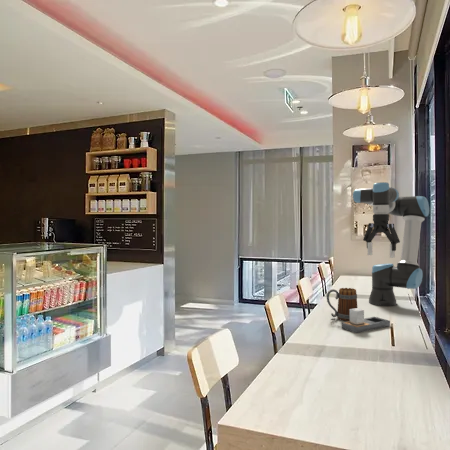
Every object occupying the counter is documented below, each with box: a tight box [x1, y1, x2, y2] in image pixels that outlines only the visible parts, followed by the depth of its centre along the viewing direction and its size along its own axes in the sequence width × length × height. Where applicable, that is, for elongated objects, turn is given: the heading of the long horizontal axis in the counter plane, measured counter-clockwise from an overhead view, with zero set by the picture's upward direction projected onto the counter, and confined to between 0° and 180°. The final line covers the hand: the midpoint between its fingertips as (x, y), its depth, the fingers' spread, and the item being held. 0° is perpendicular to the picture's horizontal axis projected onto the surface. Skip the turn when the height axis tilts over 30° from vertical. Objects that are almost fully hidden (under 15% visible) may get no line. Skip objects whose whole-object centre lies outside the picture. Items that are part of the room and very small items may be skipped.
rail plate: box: [341, 316, 391, 334], centre depth 188 cm, size 22×9×3 cm, turn 119°
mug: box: [326, 287, 359, 322], centre depth 203 cm, size 16×11×15 cm
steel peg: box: [350, 308, 365, 326], centre depth 185 cm, size 4×4×9 cm
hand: (380, 256), depth 200 cm, fingers open, 13 cm apart
